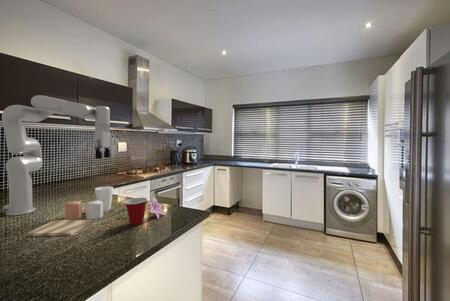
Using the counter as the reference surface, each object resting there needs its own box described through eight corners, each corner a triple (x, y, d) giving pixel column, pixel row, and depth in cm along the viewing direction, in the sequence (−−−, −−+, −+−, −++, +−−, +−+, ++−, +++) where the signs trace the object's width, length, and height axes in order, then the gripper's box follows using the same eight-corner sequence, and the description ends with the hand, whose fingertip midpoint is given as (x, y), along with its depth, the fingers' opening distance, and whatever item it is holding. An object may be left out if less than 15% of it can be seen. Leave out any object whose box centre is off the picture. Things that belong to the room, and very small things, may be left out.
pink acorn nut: (61, 220, 112) (60, 204, 111) (70, 215, 119) (70, 200, 119) (76, 219, 112) (75, 204, 112) (84, 215, 120) (84, 200, 119)
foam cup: (105, 212, 124) (105, 190, 123) (91, 211, 125) (91, 189, 125) (116, 207, 133) (116, 186, 132) (103, 206, 135) (103, 186, 134)
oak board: (26, 236, 92) (26, 233, 92) (53, 222, 108) (53, 220, 108) (71, 235, 94) (71, 232, 93) (91, 221, 109) (91, 219, 109)
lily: (146, 223, 111) (155, 207, 110) (136, 210, 118) (145, 195, 117) (164, 224, 120) (172, 209, 120) (154, 211, 127) (162, 197, 127)
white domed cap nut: (83, 219, 112) (83, 204, 112) (91, 214, 120) (91, 200, 119) (98, 219, 113) (98, 204, 113) (105, 214, 120) (104, 200, 120)
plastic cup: (128, 219, 113) (128, 196, 113) (150, 219, 114) (150, 196, 114) (120, 227, 102) (120, 202, 102) (144, 227, 103) (144, 202, 103)
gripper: (103, 129, 133) (103, 157, 133) (87, 127, 116) (87, 159, 116) (115, 129, 133) (116, 157, 134) (102, 127, 116) (102, 159, 117)
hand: (103, 157), depth 125 cm, fingers open, 9 cm apart
